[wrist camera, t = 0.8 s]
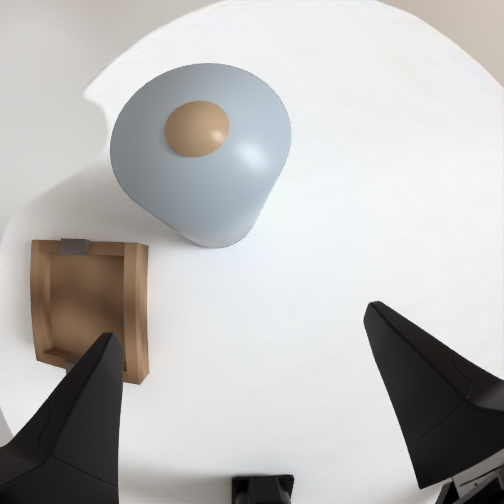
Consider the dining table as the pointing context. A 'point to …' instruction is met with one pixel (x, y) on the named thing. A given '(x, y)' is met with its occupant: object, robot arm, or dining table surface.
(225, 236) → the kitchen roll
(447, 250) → the dining table surface
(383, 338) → the robot arm
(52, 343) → the square wooden tray
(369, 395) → the dining table surface
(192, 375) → the dining table surface
